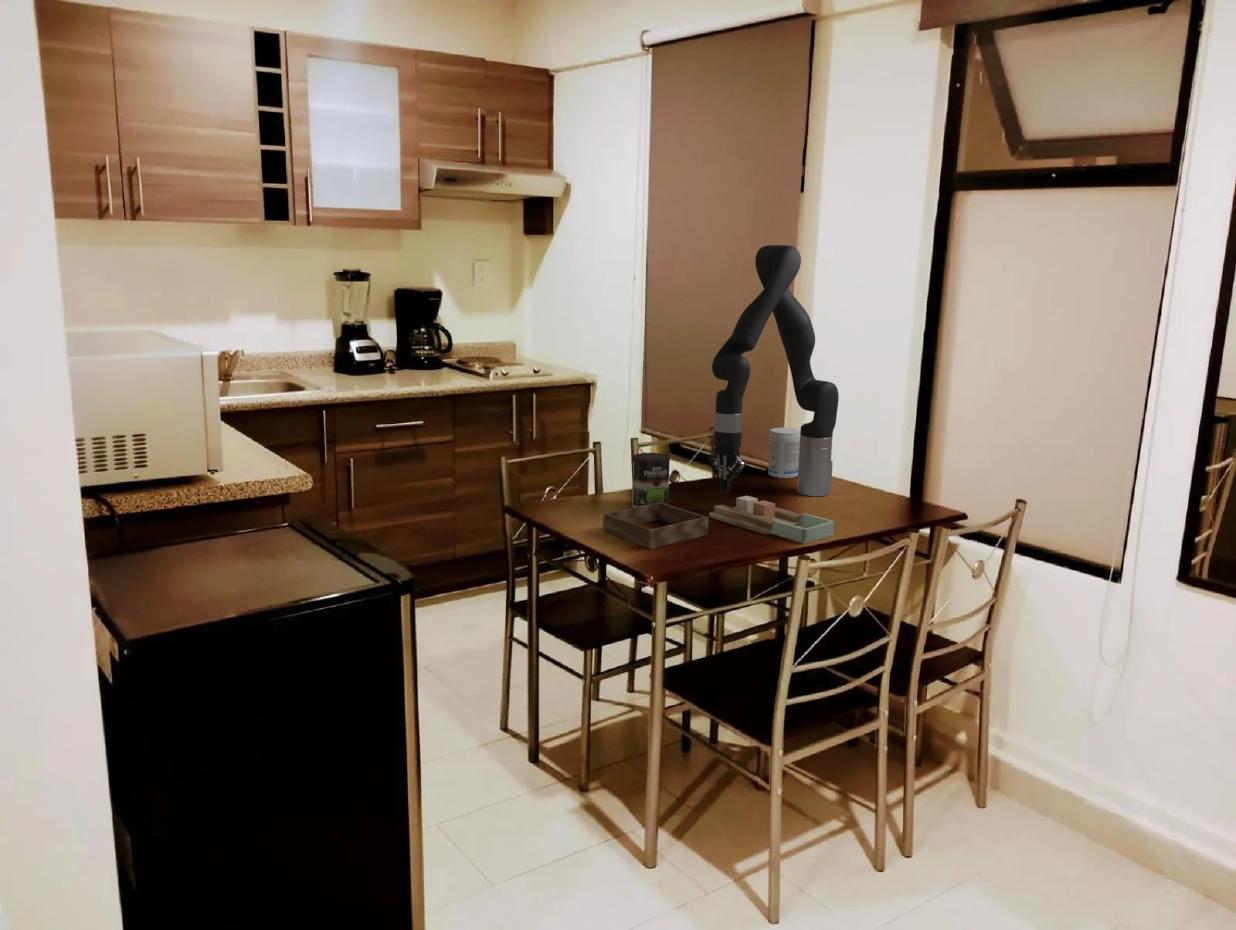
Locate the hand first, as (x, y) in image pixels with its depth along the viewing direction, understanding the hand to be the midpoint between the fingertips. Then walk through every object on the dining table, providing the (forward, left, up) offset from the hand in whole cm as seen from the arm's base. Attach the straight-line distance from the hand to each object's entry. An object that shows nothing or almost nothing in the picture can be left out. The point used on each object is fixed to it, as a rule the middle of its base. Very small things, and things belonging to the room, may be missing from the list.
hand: (724, 491), depth 256 cm
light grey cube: (0, +8, -4) cm, 9 cm away
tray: (0, +28, -5) cm, 28 cm away
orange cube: (0, +14, -4) cm, 15 cm away
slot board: (0, +12, -5) cm, 13 cm away
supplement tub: (-45, -18, -6) cm, 49 cm away
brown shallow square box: (+29, +4, -5) cm, 29 cm away
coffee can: (+13, -16, -6) cm, 21 cm away
